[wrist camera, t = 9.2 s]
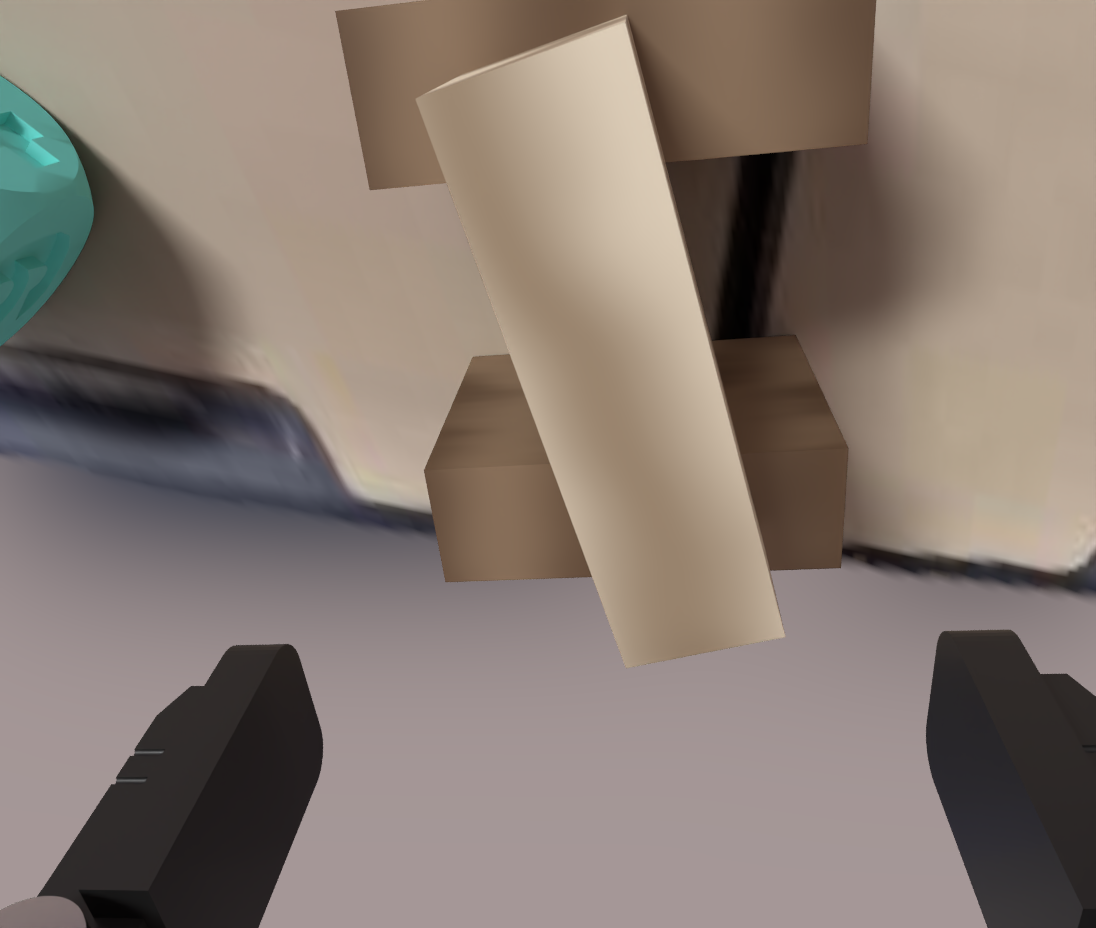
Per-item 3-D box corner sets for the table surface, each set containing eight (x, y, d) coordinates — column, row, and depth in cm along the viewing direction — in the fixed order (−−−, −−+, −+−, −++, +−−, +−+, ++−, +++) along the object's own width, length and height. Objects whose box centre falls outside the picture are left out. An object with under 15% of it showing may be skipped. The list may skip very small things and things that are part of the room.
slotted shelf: (806, -43, 27) (879, -54, 19) (792, 433, 34) (841, 568, 26) (419, 4, 28) (335, 10, 20) (487, 450, 36) (445, 582, 28)
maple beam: (627, 14, 20) (625, 22, 15) (759, 526, 26) (785, 637, 21) (461, 75, 21) (415, 98, 16) (626, 555, 27) (625, 668, 22)
